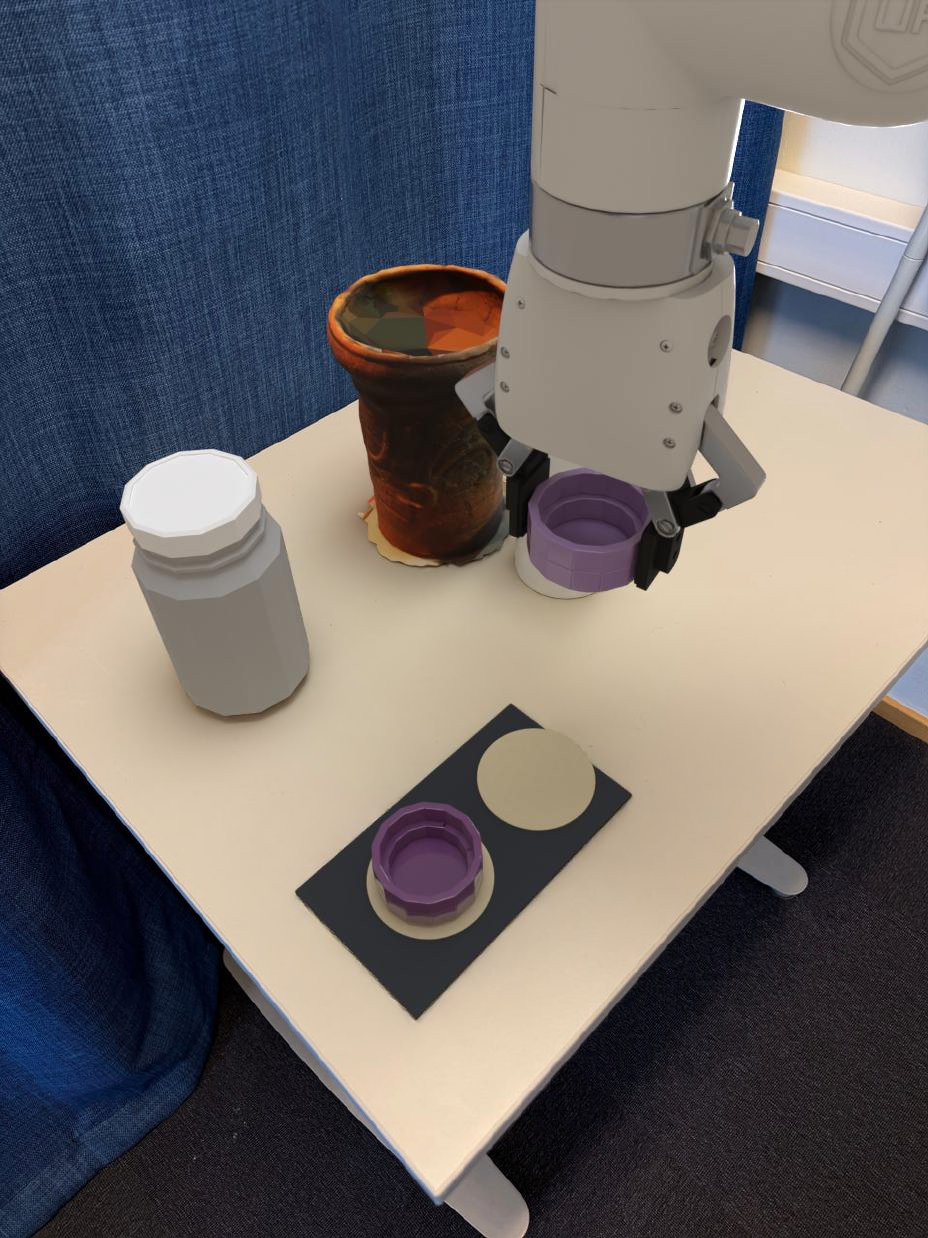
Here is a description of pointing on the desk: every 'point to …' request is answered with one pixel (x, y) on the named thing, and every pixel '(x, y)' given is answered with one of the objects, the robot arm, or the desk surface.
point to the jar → (217, 580)
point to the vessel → (424, 408)
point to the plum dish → (427, 862)
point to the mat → (511, 846)
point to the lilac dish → (586, 530)
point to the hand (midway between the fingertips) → (588, 545)
